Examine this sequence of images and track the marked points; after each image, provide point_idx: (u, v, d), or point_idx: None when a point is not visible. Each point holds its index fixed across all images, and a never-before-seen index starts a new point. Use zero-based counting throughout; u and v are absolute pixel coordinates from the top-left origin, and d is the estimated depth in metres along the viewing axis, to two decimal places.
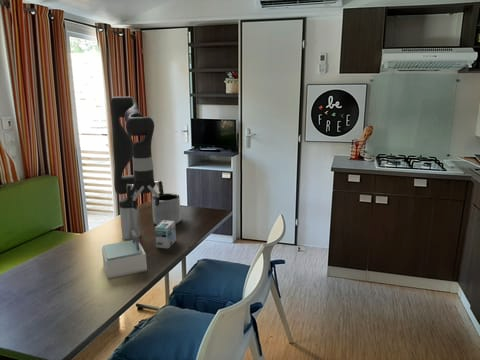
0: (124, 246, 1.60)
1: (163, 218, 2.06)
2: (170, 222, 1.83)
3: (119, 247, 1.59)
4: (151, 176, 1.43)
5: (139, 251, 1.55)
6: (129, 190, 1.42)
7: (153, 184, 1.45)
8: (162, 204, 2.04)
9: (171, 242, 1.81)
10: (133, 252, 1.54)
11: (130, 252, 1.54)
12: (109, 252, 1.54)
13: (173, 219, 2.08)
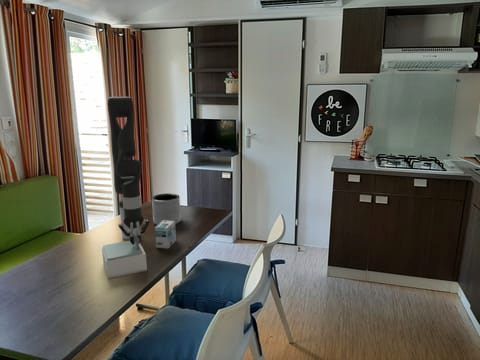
0: (124, 246, 1.60)
1: (163, 218, 2.06)
2: (170, 222, 1.83)
3: (119, 247, 1.59)
4: (139, 213, 1.55)
5: (139, 251, 1.55)
6: (122, 229, 1.55)
7: (141, 220, 1.58)
8: (162, 204, 2.04)
9: (171, 242, 1.81)
10: (133, 252, 1.54)
11: (130, 252, 1.54)
12: (109, 252, 1.54)
13: (173, 219, 2.08)
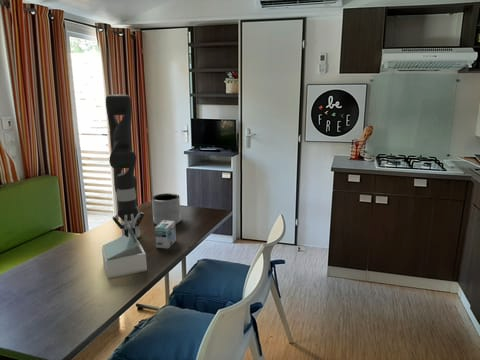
0: (122, 241, 1.59)
1: (163, 218, 2.06)
2: (170, 222, 1.83)
3: (118, 243, 1.58)
4: (134, 205, 1.53)
5: (137, 243, 1.53)
6: (117, 221, 1.53)
7: (136, 212, 1.56)
8: (162, 204, 2.04)
9: (171, 242, 1.81)
10: (131, 245, 1.53)
11: (128, 246, 1.53)
12: (108, 251, 1.54)
13: (173, 219, 2.08)
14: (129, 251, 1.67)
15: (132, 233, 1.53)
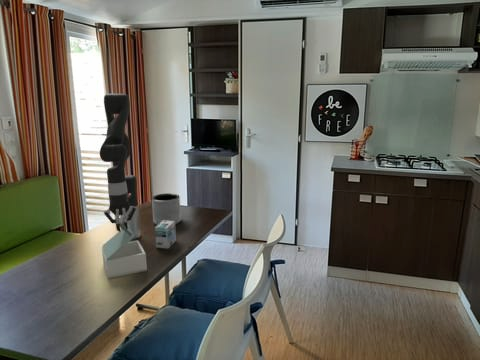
0: (119, 237, 1.58)
1: (163, 218, 2.06)
2: (170, 222, 1.83)
3: (115, 240, 1.57)
4: (125, 199, 1.51)
5: (132, 236, 1.52)
6: (108, 216, 1.51)
7: (128, 206, 1.54)
8: (162, 204, 2.04)
9: (171, 242, 1.81)
10: (127, 240, 1.51)
11: (124, 241, 1.52)
12: (108, 250, 1.53)
13: (173, 219, 2.08)
14: (129, 251, 1.67)
15: (124, 228, 1.51)
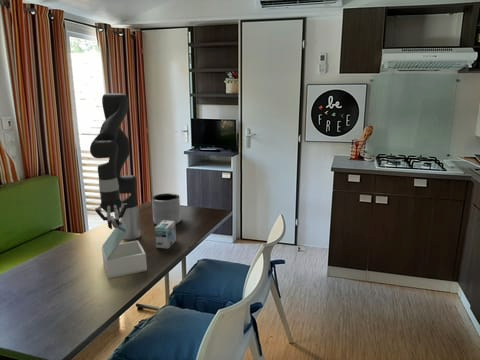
0: (115, 234, 1.57)
1: (163, 218, 2.06)
2: (170, 222, 1.83)
3: (112, 238, 1.57)
4: (116, 196, 1.49)
5: (125, 231, 1.50)
6: (99, 213, 1.49)
7: (119, 203, 1.52)
8: (162, 204, 2.04)
9: (171, 242, 1.81)
10: (122, 236, 1.50)
11: (120, 238, 1.50)
12: (107, 250, 1.53)
13: (173, 219, 2.08)
14: (129, 251, 1.67)
15: (115, 225, 1.49)
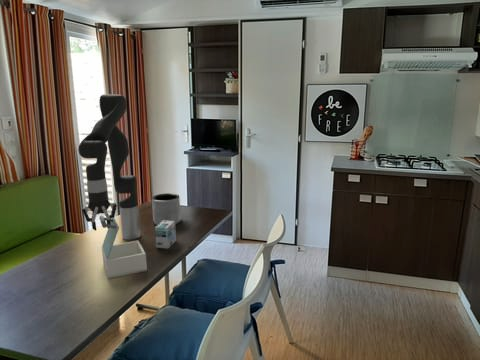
0: (110, 232, 1.56)
1: (163, 218, 2.06)
2: (170, 222, 1.83)
3: (108, 237, 1.56)
4: (105, 197, 1.47)
5: (116, 228, 1.48)
6: (85, 213, 1.47)
7: (108, 205, 1.50)
8: (162, 204, 2.04)
9: (171, 242, 1.81)
10: (114, 233, 1.48)
11: (113, 235, 1.49)
12: (105, 250, 1.53)
13: (173, 219, 2.08)
14: (129, 251, 1.67)
15: (105, 225, 1.47)
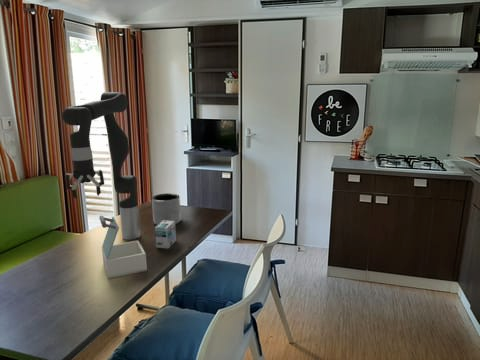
0: (110, 232, 1.56)
1: (163, 218, 2.06)
2: (170, 222, 1.83)
3: (108, 237, 1.56)
4: (90, 165, 1.45)
5: (116, 228, 1.48)
6: (68, 179, 1.44)
7: (93, 173, 1.47)
8: (162, 204, 2.04)
9: (171, 242, 1.81)
10: (114, 233, 1.48)
11: (113, 235, 1.49)
12: (105, 250, 1.53)
13: (173, 219, 2.08)
14: (129, 251, 1.67)
15: (105, 225, 1.47)
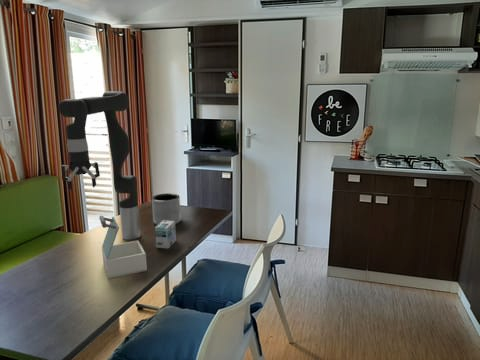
0: (110, 232, 1.56)
1: (163, 218, 2.06)
2: (170, 222, 1.83)
3: (108, 237, 1.56)
4: (85, 157, 1.46)
5: (116, 228, 1.48)
6: (63, 171, 1.45)
7: (88, 165, 1.49)
8: (162, 204, 2.04)
9: (171, 242, 1.81)
10: (114, 233, 1.48)
11: (113, 235, 1.49)
12: (105, 250, 1.53)
13: (173, 219, 2.08)
14: (129, 251, 1.67)
15: (105, 225, 1.47)
